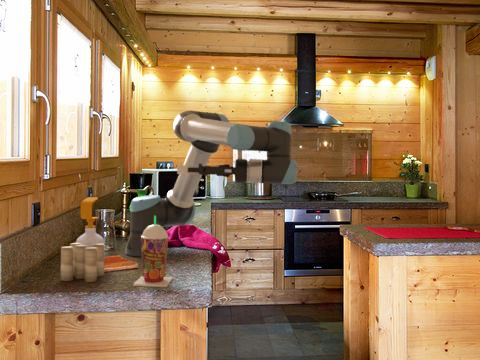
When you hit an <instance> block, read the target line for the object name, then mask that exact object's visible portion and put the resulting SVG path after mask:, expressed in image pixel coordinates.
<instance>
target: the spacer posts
mask: <svg viewBox="0 0 480 360" xmlns="http://www.w3.org/2000/svg"><path fill="white" fill-rule="evenodd" d="M105 246H106V245H105V243H104V244H93V247H88V248H87V245H82V243H76V242H72V243H69V246H61V247H60V281H61V282H62V281H63V282H70V281H73V280H74V279H84V282H88V283H92V282H97V281H98V280H97V278H98V277H103V276H105V253H106V252H105V250H106V248H105Z"/></svg>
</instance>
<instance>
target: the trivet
mask: <svg viewBox="0 0 480 360" xmlns="http://www.w3.org/2000/svg"><path fill="white" fill-rule="evenodd" d="M173 279H174V278H173V276H165V277H164V278H163V281H161V282H146V281H145V280H144V277H143V275H140V277H139V278H138V279H136V280H135V282H133V287H155V288H156V287H160V288H167V287H168V286H169V284H171V282H172V281H173Z"/></svg>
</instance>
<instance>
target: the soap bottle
mask: <svg viewBox="0 0 480 360" xmlns="http://www.w3.org/2000/svg"><path fill="white" fill-rule="evenodd" d="M97 200H99V197H96V196H95V197H94V196H91V197H90V196H88V197H86V198H84V199H83V200H82V201H81V202H80V218H81V219H82V220H86V222H87V225H85V229H84V230H85V232H84V233H83V234H81V235H80V236H79V237H78V238H77V239H76V241H75V243H82V245H87V248H88V247H93V244H105V240H104V237H102V236H101V235H100V234H99V233H97V232H96V230H97V229H96V225H94V223H95V221H96V220H97V219H100V217H99V216H93V205H94V203H95V202H97Z"/></svg>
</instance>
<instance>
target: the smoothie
mask: <svg viewBox="0 0 480 360" xmlns="http://www.w3.org/2000/svg"><path fill="white" fill-rule="evenodd" d="M168 244H169V235H168V233H167V230H166V229H165V228H164V226H163V227H162V226H160V225H157V224H156V216H154V224H153V225H150V226H148V227H147V228H146V229H145V230H144V231H143V234H142V235H141V249H142V257H141V268H142V276H143V277H144V280H145V281H146V282H161V281H163V278H164V277H166V270H167V269H166V267H167V258H168V257H167V256H168Z"/></svg>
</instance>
